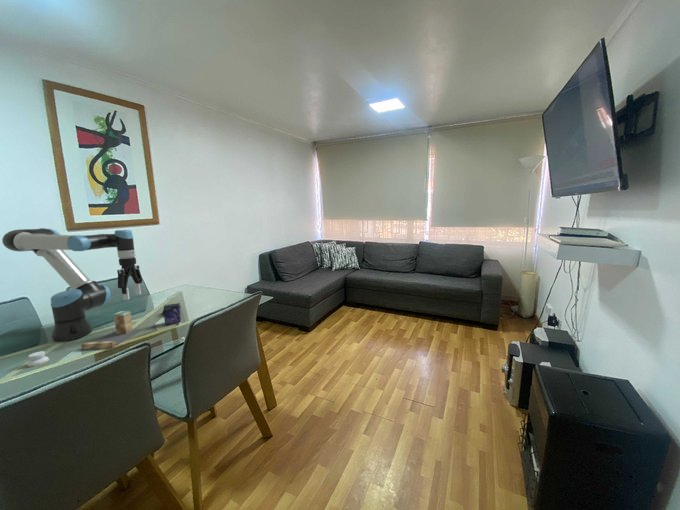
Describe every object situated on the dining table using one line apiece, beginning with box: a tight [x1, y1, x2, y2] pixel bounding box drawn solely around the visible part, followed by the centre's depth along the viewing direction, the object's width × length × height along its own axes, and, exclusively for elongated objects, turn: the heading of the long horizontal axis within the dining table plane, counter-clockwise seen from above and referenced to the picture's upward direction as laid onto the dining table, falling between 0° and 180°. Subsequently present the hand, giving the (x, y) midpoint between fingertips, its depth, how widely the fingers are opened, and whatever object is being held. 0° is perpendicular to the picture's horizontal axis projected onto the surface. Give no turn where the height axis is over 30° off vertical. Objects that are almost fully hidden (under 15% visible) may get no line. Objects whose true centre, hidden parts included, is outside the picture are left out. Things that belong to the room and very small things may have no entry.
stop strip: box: [80, 341, 117, 350], centre depth 128 cm, size 14×2×2 cm, turn 93°
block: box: [113, 310, 134, 334], centre depth 144 cm, size 5×5×11 cm
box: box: [163, 302, 182, 326], centre depth 157 cm, size 8×6×11 cm
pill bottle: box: [26, 350, 50, 368], centre depth 116 cm, size 6×6×12 cm
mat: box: [94, 328, 143, 346], centre depth 139 cm, size 14×18×1 cm
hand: (132, 296), depth 152 cm, fingers open, 9 cm apart
